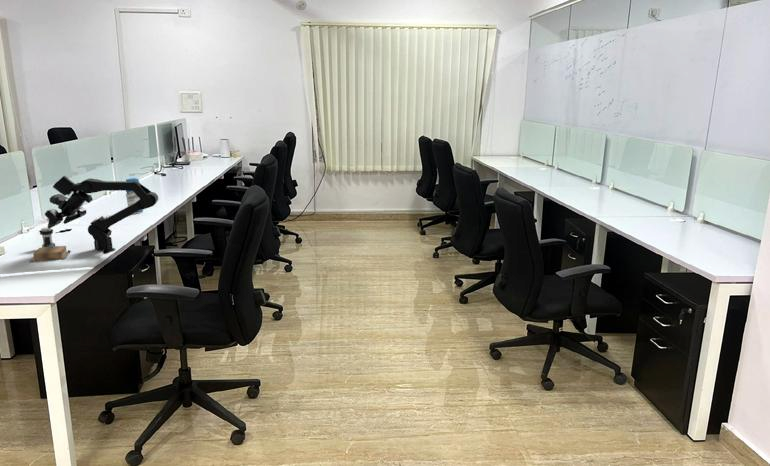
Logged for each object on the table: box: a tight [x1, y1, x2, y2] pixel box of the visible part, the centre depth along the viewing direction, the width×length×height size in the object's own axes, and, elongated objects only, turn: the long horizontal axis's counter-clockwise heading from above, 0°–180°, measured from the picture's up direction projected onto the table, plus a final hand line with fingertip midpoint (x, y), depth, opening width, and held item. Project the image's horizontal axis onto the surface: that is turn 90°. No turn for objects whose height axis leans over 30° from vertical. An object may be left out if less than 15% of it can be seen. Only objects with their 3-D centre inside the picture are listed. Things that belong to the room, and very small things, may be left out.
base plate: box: [29, 249, 72, 263], centre depth 233 cm, size 13×13×2 cm
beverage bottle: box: [125, 177, 144, 215], centre depth 322 cm, size 8×8×20 cm
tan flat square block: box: [33, 245, 68, 261], centre depth 232 cm, size 10×10×3 cm
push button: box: [39, 226, 57, 248], centre depth 245 cm, size 7×5×10 cm
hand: (56, 225), depth 242 cm, fingers open, 9 cm apart
